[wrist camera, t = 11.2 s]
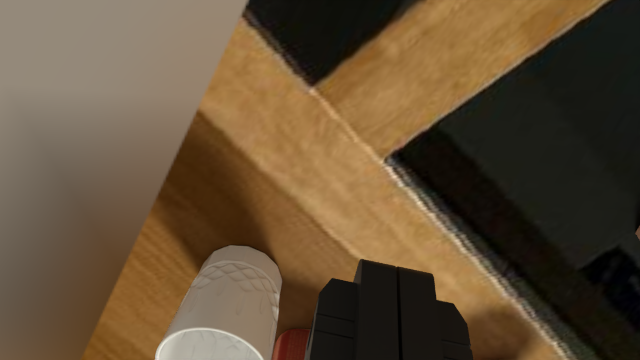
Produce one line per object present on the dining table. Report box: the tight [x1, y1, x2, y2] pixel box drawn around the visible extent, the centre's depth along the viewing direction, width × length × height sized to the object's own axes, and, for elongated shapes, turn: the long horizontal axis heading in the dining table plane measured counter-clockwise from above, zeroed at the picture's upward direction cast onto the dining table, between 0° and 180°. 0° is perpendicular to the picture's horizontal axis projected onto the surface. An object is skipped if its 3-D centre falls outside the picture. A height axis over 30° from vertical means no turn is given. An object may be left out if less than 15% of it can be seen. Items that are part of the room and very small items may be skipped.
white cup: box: [155, 245, 282, 360], centre depth 43 cm, size 8×8×10 cm
